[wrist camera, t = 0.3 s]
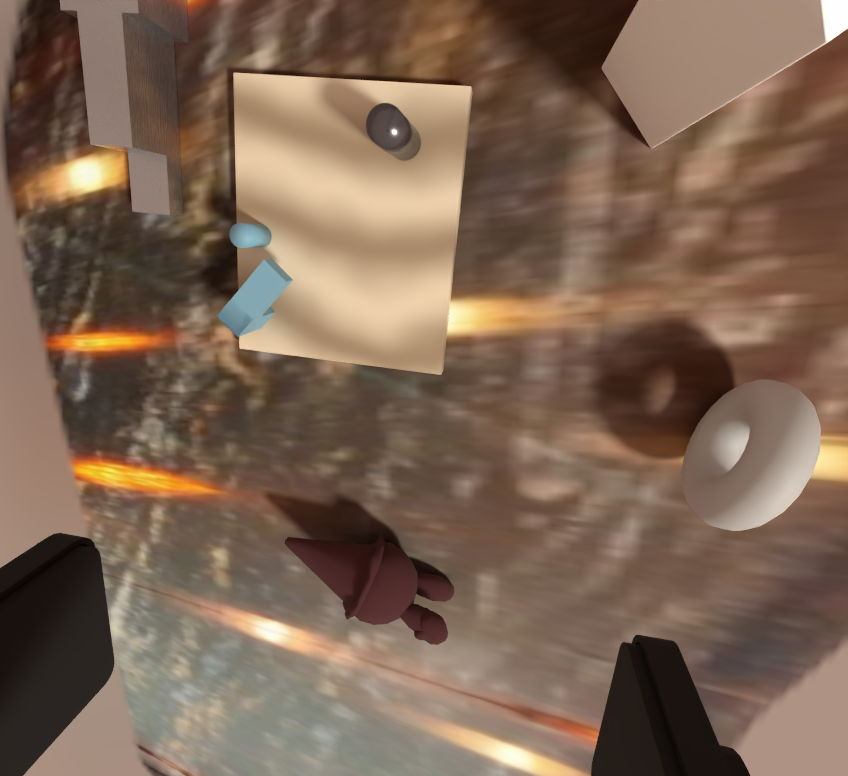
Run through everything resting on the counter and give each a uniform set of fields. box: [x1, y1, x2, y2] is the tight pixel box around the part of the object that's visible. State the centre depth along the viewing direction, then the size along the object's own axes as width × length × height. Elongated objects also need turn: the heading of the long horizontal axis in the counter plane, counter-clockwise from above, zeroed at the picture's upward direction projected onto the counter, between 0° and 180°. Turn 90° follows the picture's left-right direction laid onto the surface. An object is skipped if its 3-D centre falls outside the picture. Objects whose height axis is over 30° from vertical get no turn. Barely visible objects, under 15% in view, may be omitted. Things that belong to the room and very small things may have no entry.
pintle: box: [366, 103, 421, 161], centre depth 31 cm, size 2×2×6 cm
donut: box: [681, 379, 821, 531], centre depth 32 cm, size 10×3×10 cm, turn 158°
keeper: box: [217, 223, 293, 337], centre depth 36 cm, size 6×5×5 cm
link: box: [60, 0, 189, 216], centre depth 34 cm, size 17×5×5 cm, turn 175°
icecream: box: [285, 534, 454, 645], centre depth 41 cm, size 7×7×15 cm
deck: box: [233, 73, 472, 375], centre depth 36 cm, size 19×16×1 cm
